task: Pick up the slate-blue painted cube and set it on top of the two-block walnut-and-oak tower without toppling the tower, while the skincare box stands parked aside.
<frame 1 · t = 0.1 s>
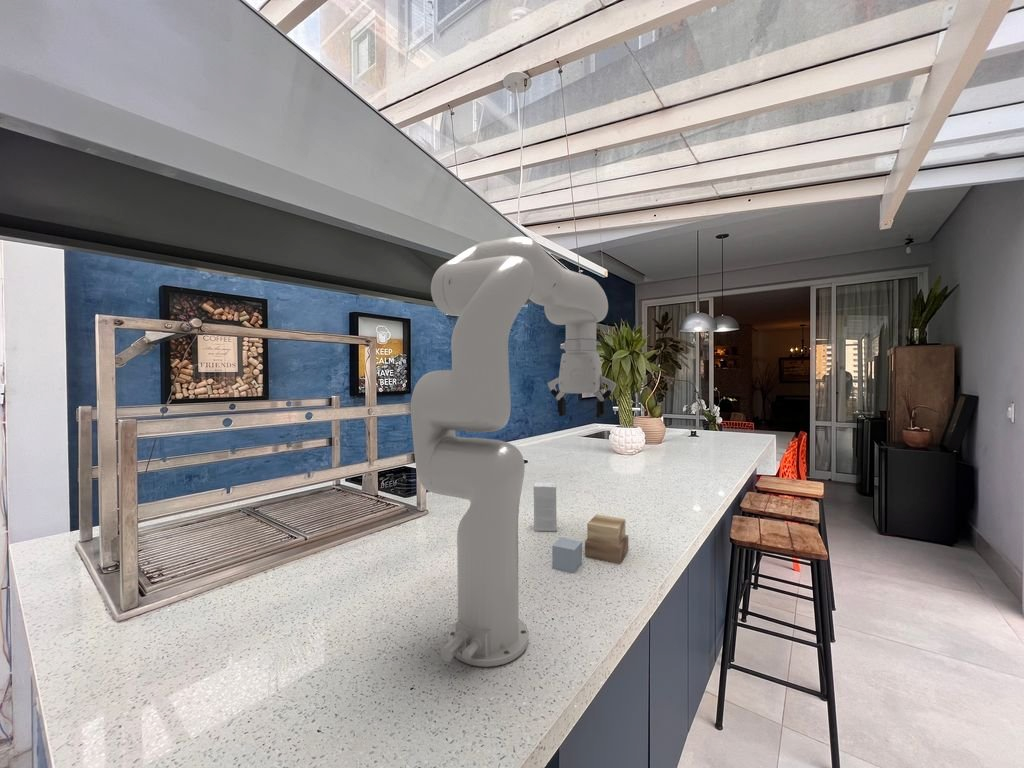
hand: (580, 416, 105), 31 cm above the table, fingers open, 9 cm apart
skincare box: (545, 529, 114), on the table
tower top: (606, 538, 98), point 4 cm above the table, touching tower base
cube: (567, 566, 92), on the table
tower base: (606, 555, 98), on the table, touching tower top
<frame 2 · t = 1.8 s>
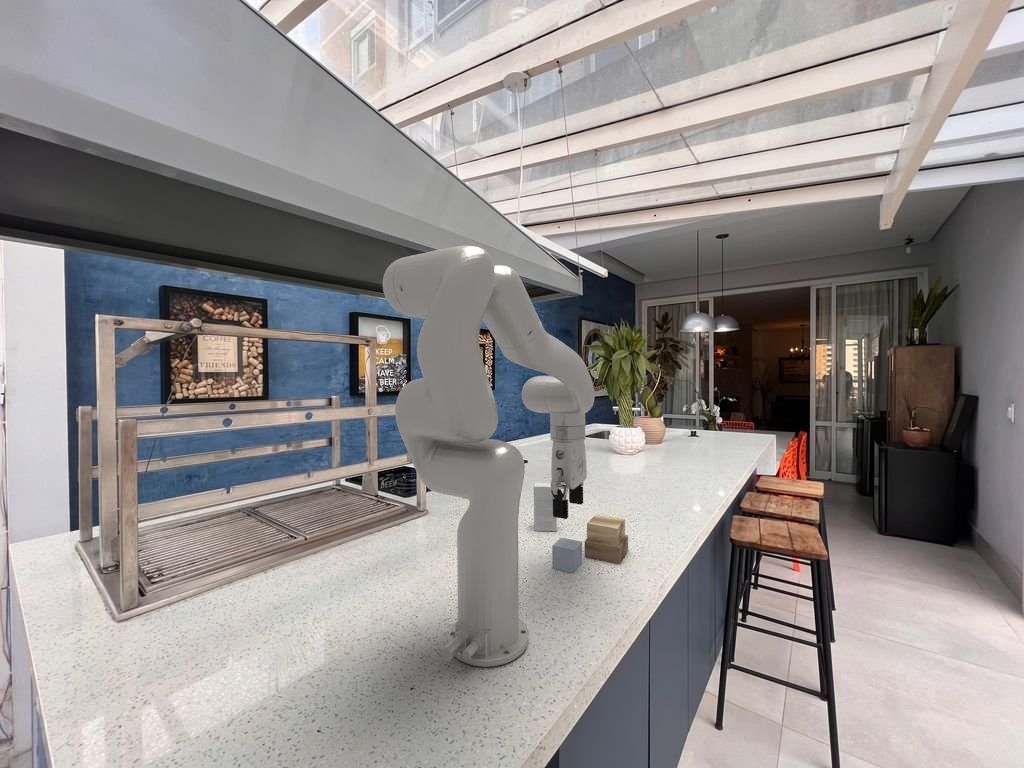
hand: (568, 510, 92), 12 cm above the table, fingers open, 9 cm apart
nothing on the table moved.
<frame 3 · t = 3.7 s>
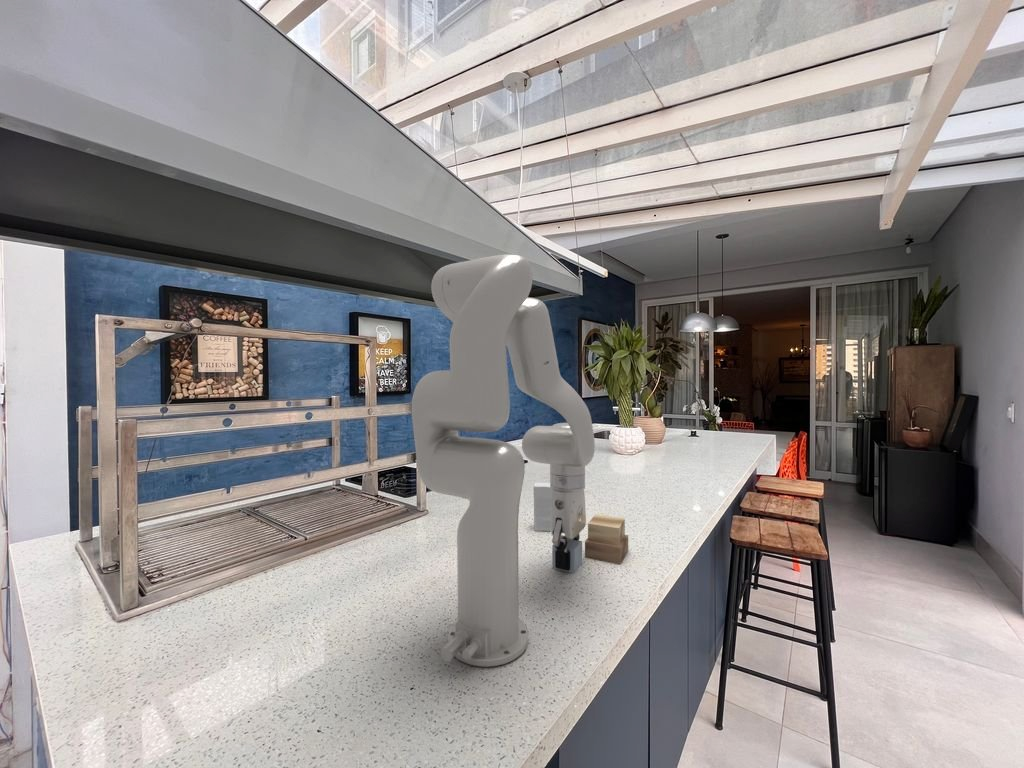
hand: (567, 562, 92), 1 cm above the table, fingers closed on cube, 5 cm apart
cube: (567, 565, 92), on the table, touching gripper
everything else where it was.
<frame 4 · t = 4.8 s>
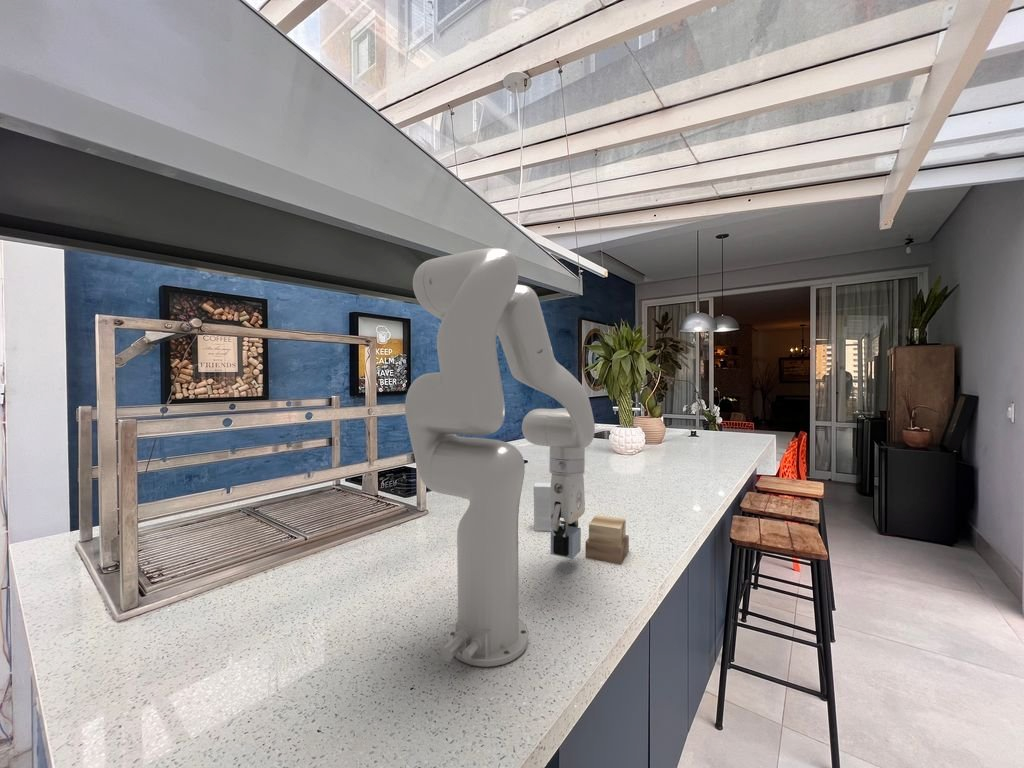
hand: (565, 549, 91), 4 cm above the table, fingers closed on cube, 5 cm apart
tower top: (607, 538, 97), point 4 cm above the table
cube: (565, 552, 91), point 3 cm above the table, touching gripper
tower base: (607, 555, 98), on the table
everything else where it was.
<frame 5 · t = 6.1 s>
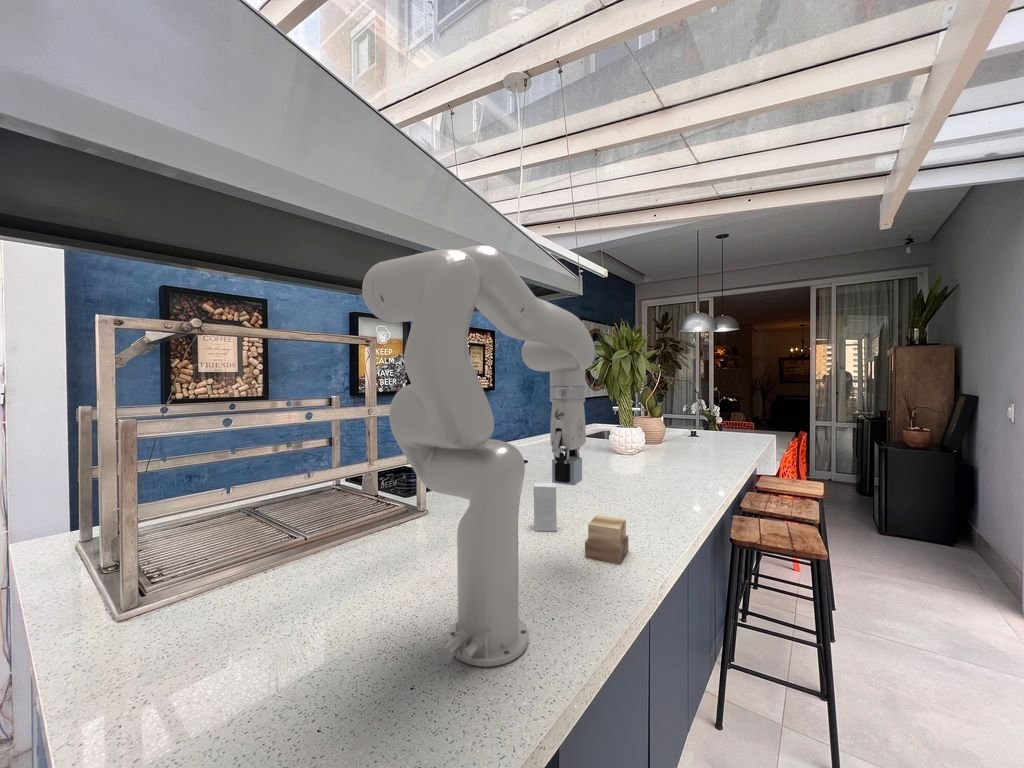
hand: (567, 478, 91), 19 cm above the table, fingers closed on cube, 5 cm apart
tower top: (607, 538, 97), point 4 cm above the table, touching tower base
cube: (567, 481, 91), point 18 cm above the table, touching gripper
tower base: (607, 555, 98), on the table, touching tower top
everything else where it was.
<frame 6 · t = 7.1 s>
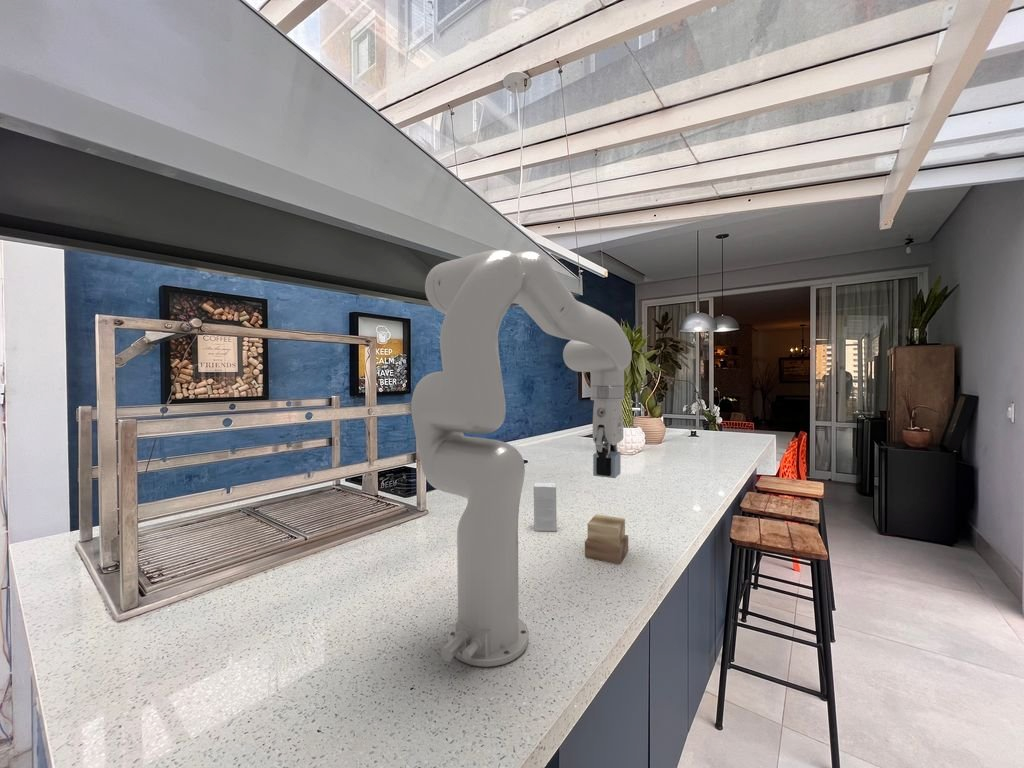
hand: (607, 471, 97), 19 cm above the table, fingers closed on cube, 5 cm apart
cube: (607, 474, 97), point 18 cm above the table, touching gripper
everything else where it was.
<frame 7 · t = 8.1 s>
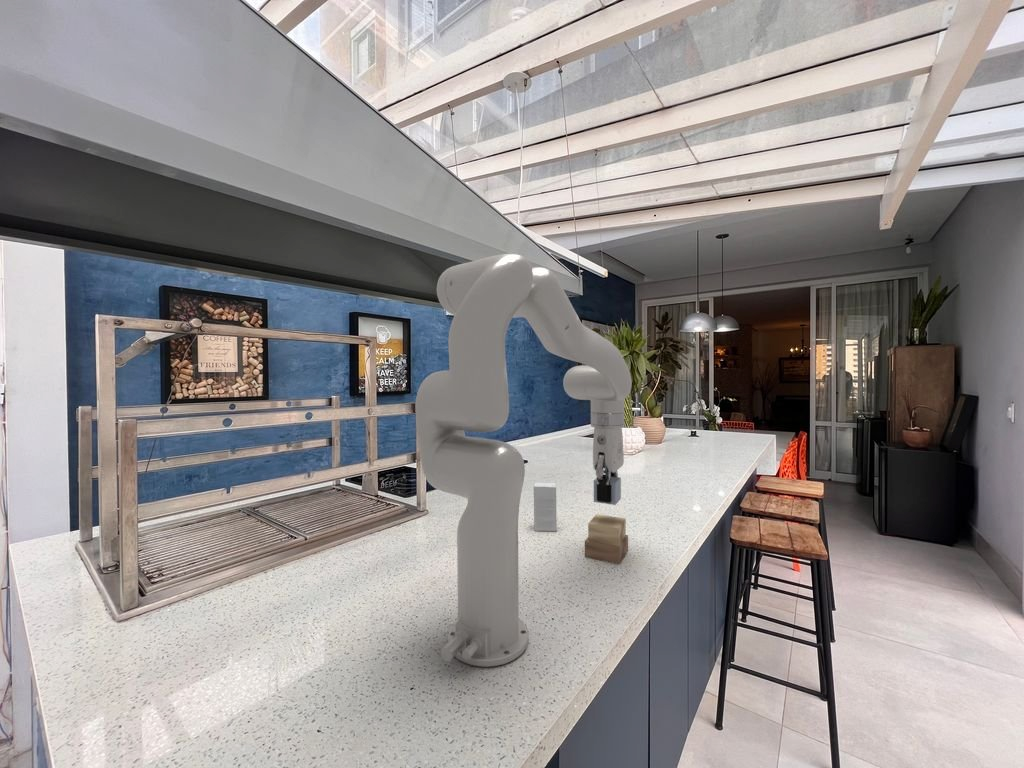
hand: (607, 497, 98), 13 cm above the table, fingers closed on cube, 5 cm apart
tower top: (607, 538, 98), point 4 cm above the table
cube: (607, 500, 98), point 12 cm above the table, touching gripper
tower base: (606, 555, 98), on the table
everything else where it was.
when the fingers open (10 cm above the table, at t = 9.5 s): cube drops 1 cm, point 8 cm above the table.
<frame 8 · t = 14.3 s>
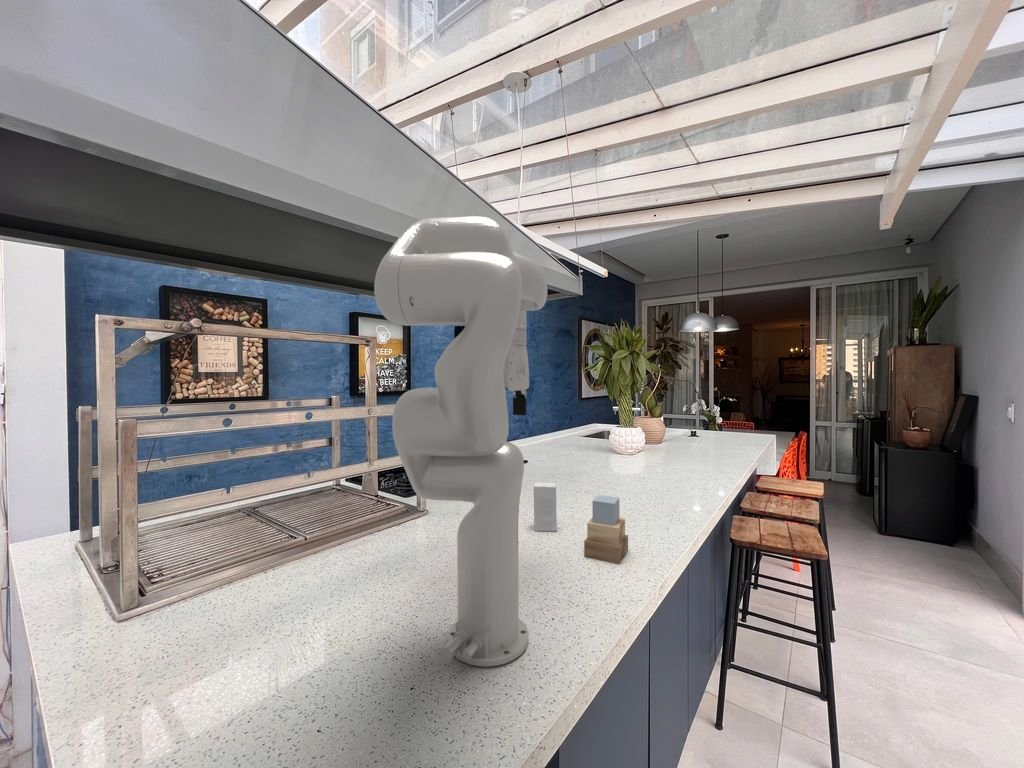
hand: (509, 416, 93), 32 cm above the table, fingers open, 9 cm apart
tower top: (606, 537, 98), point 4 cm above the table, touching tower base
cube: (606, 520, 98), point 8 cm above the table
tower base: (606, 555, 98), on the table, touching tower top
everything else where it was.
at the end: cube 0.1 cm from the tower top (horizontally); cube point 7.7 cm above the table; tower top tilted 0° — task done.
